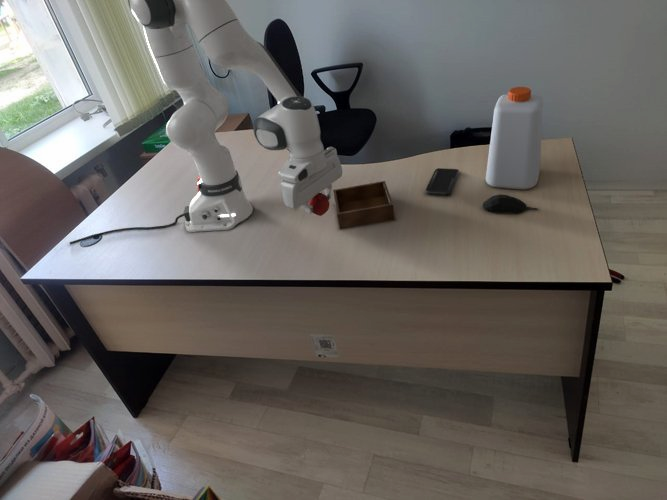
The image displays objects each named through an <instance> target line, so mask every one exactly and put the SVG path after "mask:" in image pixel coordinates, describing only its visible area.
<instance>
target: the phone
mask: <svg viewBox="0 0 667 500" xmlns="http://www.w3.org/2000/svg"><path fill="white" fill-rule="evenodd" d="M459 175H460V170H459V169H458V168H444V167H443V168H441V167H438V168H437V167H436V169H435V170H434V172H433V173H432V176H431V177H430V180H429V182H428V184H427V186H426V189H425V194H426V195H431V196H442V197H443V196H444V197H448V196H451V195H452V192H453V190H454V187H455V184H456V182H457V180H458V178H459Z"/></svg>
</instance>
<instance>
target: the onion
mask: <svg viewBox="0 0 667 500" xmlns="http://www.w3.org/2000/svg"><path fill="white" fill-rule="evenodd" d="M308 205H310V206H313V209H314V211H313V212H312V213H311V214H314V215H316V216H319V217H322V216H324V215H325V214H326V213H327V212H328V211H329V209H330V199H329V200H328V198H327V197H326V196H325V195H324V194H323V193H322V192H320V193H318V194H317V195H315V196H314V197H313V198H311V199H310V200H309V204H308Z"/></svg>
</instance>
